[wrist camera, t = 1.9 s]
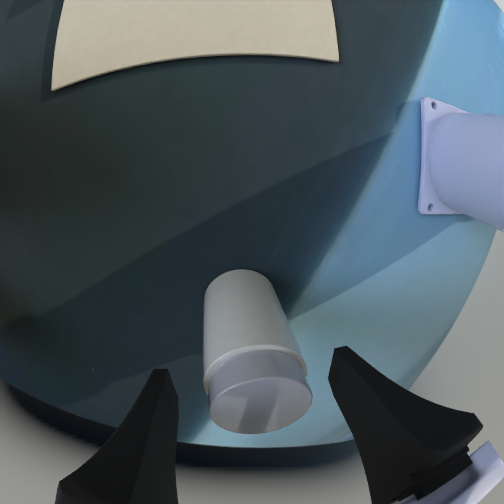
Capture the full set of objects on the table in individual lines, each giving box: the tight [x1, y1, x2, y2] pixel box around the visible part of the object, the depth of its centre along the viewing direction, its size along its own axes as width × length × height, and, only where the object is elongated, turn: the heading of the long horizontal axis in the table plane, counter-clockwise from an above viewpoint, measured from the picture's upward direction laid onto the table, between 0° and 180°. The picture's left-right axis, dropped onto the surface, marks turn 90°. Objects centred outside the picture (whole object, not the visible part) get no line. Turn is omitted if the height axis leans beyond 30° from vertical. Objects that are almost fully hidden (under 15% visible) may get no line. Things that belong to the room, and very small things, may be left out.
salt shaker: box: [203, 269, 312, 434], centre depth 13 cm, size 4×4×8 cm
